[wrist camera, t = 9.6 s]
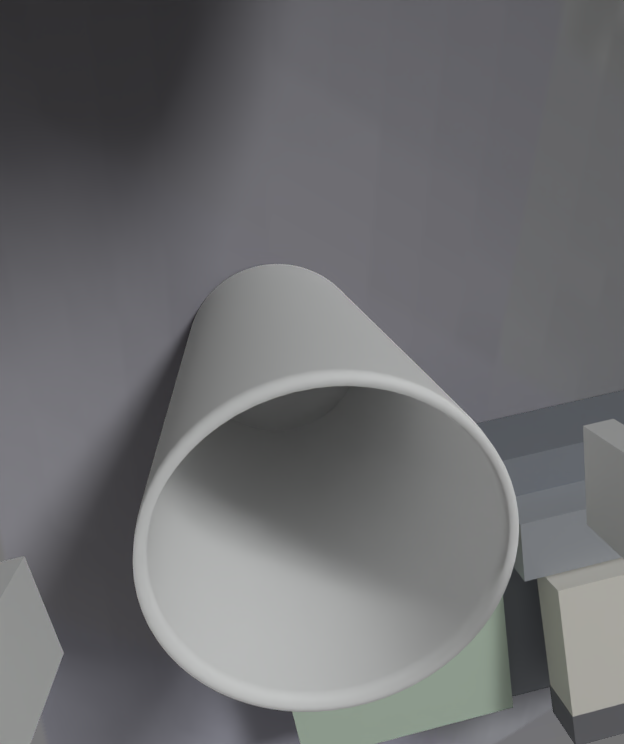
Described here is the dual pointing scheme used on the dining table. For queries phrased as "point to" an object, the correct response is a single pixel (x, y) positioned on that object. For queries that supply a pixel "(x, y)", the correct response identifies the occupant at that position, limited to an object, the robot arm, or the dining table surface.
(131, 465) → the dining table surface
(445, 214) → the dining table surface
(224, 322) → the cup
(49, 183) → the dining table surface
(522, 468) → the panel
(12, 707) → the robot arm
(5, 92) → the dining table surface
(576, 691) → the light grey rectangular block
